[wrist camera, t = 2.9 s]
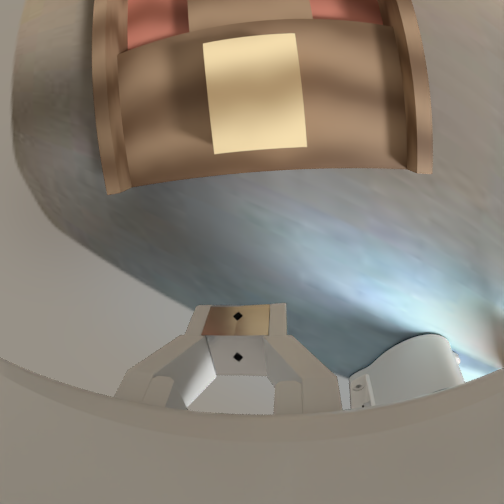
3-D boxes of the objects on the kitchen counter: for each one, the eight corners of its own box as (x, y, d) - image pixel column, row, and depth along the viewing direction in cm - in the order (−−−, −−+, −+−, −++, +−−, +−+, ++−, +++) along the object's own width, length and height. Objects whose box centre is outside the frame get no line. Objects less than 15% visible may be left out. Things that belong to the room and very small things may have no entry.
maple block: (302, 144, 20) (307, 147, 16) (225, 150, 21) (214, 154, 17) (292, 49, 17) (294, 33, 13) (215, 57, 18) (202, 43, 14)
